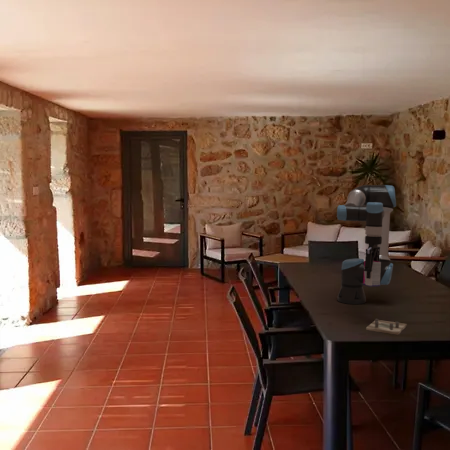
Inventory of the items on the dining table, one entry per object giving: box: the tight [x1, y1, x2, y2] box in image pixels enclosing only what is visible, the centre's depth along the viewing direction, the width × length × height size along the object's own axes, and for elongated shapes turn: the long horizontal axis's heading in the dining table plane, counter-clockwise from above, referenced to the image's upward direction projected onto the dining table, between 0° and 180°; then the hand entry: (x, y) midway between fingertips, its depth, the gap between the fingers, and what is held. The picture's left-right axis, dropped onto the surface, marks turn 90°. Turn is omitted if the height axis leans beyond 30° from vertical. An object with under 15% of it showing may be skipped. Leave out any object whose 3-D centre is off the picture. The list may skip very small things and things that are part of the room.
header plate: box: [365, 318, 408, 336], centre depth 243 cm, size 16×14×4 cm
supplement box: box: [363, 260, 381, 288], centre depth 251 cm, size 6×6×12 cm
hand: (371, 283), depth 252 cm, fingers closed on supplement box, 8 cm apart
